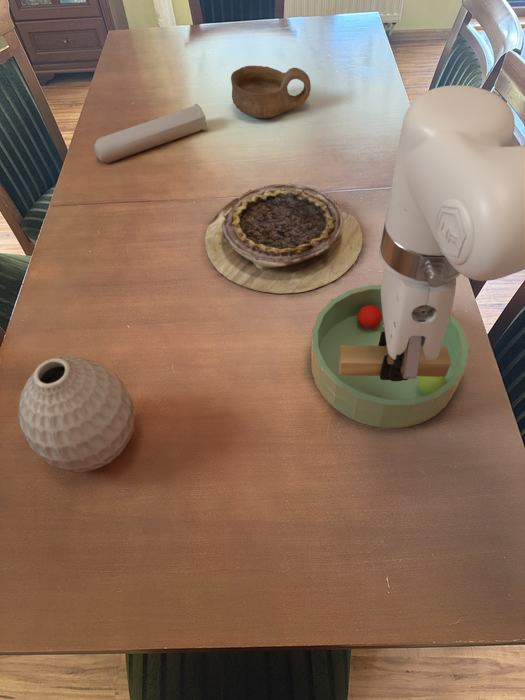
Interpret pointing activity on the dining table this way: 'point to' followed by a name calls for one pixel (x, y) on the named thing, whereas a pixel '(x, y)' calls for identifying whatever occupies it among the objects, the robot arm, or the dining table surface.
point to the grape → (430, 384)
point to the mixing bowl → (370, 391)
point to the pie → (283, 239)
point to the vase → (76, 413)
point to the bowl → (267, 90)
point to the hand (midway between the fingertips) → (392, 365)
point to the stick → (371, 360)
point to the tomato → (369, 317)
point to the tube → (150, 134)
